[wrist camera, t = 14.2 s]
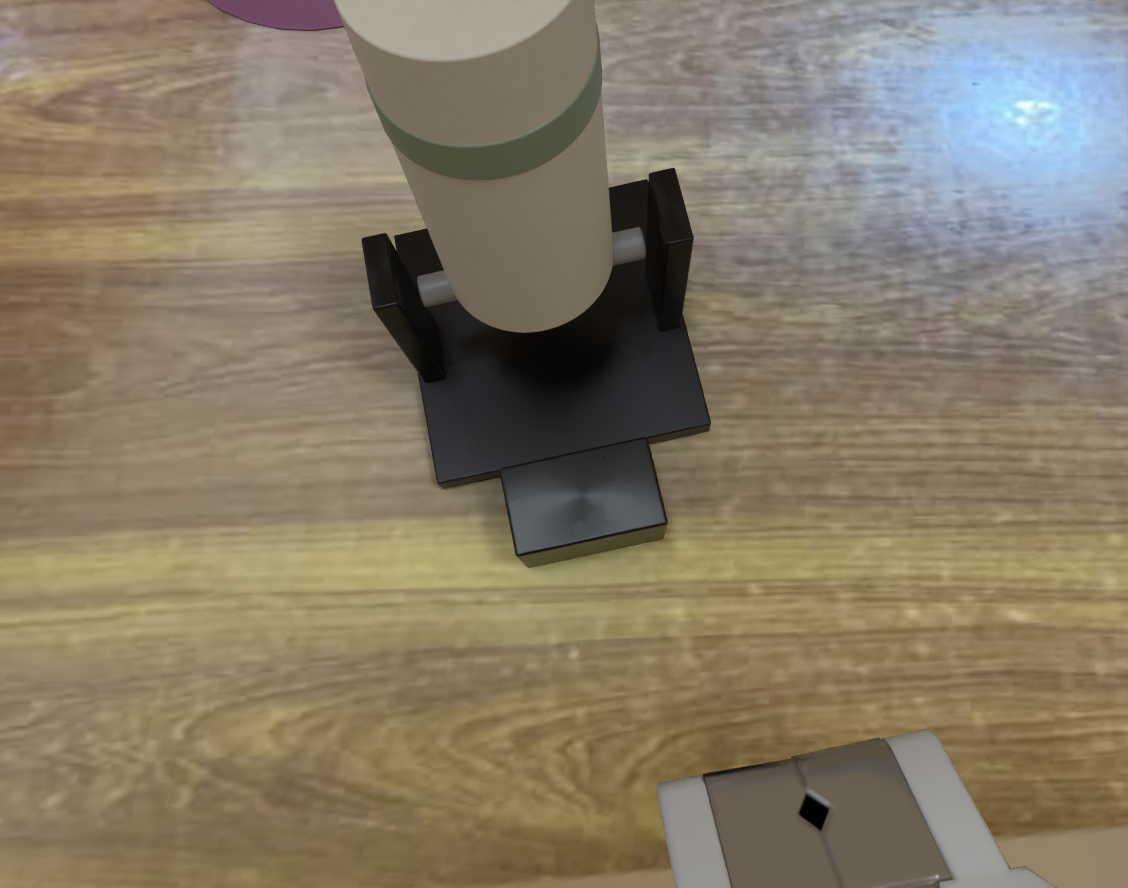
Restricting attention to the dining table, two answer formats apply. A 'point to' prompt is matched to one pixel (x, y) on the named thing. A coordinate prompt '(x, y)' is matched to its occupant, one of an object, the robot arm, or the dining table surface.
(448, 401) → the stand
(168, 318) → the dining table surface
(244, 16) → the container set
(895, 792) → the robot arm
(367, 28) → the beige green-banded cylinder
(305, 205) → the dining table surface
